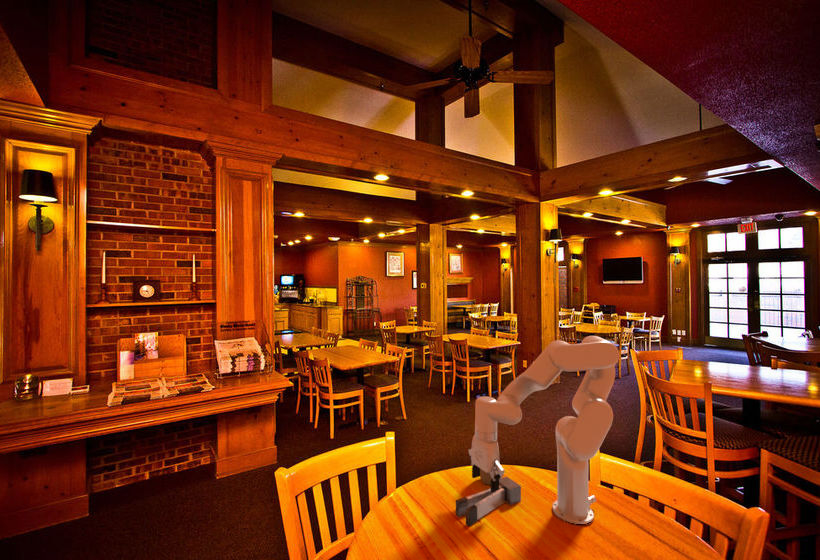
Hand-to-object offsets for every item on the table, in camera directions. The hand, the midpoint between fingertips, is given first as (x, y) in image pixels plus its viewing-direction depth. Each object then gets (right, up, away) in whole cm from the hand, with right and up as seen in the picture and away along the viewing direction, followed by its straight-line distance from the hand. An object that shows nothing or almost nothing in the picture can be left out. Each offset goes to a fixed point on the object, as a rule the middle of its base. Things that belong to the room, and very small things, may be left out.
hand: (485, 483), depth 128 cm
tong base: (+1, -8, 0) cm, 8 cm away
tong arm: (0, -8, -4) cm, 9 cm away
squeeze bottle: (+5, -8, +16) cm, 19 cm away
